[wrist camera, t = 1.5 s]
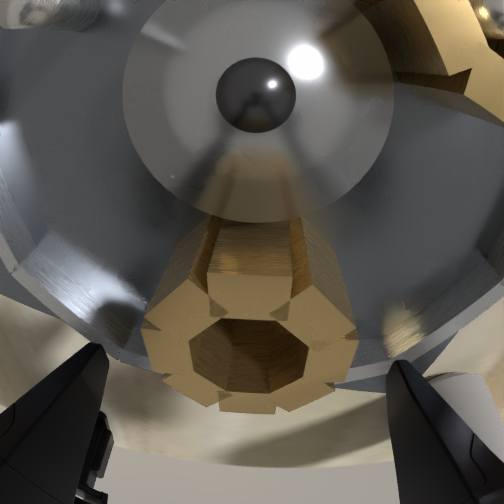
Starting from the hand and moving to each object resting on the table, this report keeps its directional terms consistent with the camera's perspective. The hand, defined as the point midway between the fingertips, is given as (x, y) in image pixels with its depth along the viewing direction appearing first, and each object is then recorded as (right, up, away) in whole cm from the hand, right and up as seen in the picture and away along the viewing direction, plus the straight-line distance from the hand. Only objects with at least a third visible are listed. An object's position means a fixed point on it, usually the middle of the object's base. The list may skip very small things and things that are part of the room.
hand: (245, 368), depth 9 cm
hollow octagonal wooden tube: (0, +2, +4) cm, 4 cm away
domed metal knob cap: (0, +8, 0) cm, 8 cm away
